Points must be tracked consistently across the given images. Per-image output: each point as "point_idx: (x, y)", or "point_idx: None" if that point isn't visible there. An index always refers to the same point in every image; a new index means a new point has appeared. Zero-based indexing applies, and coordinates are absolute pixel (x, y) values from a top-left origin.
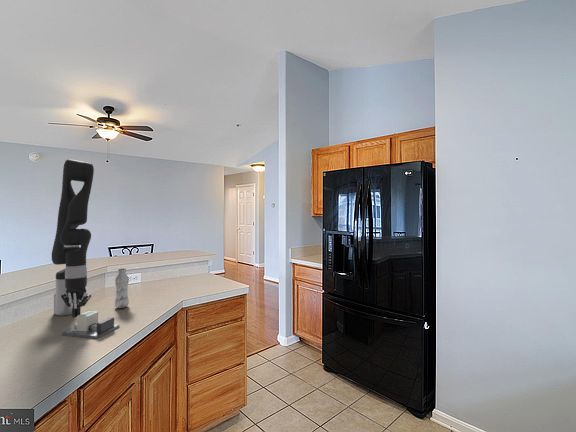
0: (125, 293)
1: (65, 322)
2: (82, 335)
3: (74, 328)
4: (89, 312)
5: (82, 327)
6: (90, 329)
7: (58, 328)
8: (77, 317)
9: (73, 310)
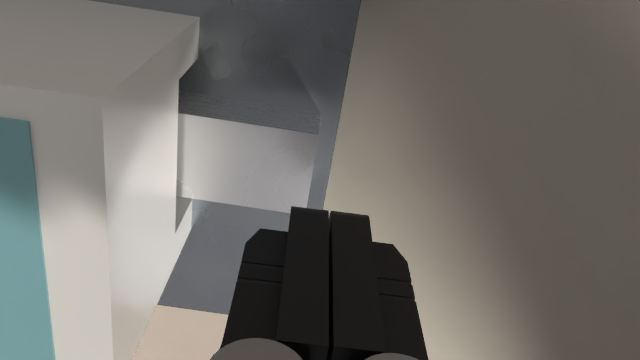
0: None
1: (620, 332)
2: None
3: (298, 92)
4: (9, 323)
5: (58, 10)
6: None
7: (601, 154)
8: (97, 81)
9: (343, 311)
